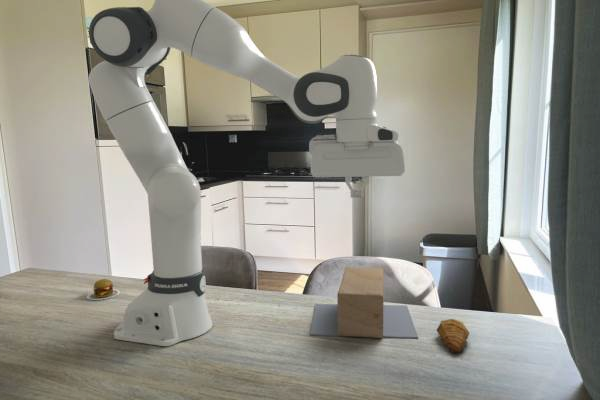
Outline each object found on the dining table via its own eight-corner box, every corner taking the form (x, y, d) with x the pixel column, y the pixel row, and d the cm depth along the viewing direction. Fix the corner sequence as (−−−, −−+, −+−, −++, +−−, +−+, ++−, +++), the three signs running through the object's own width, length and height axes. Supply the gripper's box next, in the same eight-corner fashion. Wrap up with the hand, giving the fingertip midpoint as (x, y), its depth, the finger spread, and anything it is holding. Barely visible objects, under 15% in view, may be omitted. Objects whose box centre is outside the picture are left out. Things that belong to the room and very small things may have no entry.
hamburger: (77, 296, 125) (75, 279, 125) (119, 287, 132) (118, 270, 132) (85, 308, 116) (83, 289, 115) (130, 298, 123) (128, 280, 122)
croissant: (434, 326, 98) (435, 306, 97) (465, 328, 96) (466, 308, 96) (437, 354, 85) (438, 331, 85) (473, 358, 83) (474, 334, 83)
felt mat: (309, 335, 94) (309, 334, 94) (316, 304, 112) (315, 303, 112) (418, 338, 92) (418, 337, 92) (406, 306, 109) (406, 305, 109)
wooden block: (383, 295, 90) (383, 267, 109) (337, 293, 92) (345, 266, 111) (383, 339, 91) (383, 304, 111) (337, 336, 93) (345, 302, 113)
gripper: (307, 135, 88) (308, 199, 90) (405, 132, 86) (405, 198, 87) (310, 135, 94) (311, 195, 96) (402, 132, 92) (402, 194, 94)
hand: (357, 197), depth 92 cm, fingers closed
